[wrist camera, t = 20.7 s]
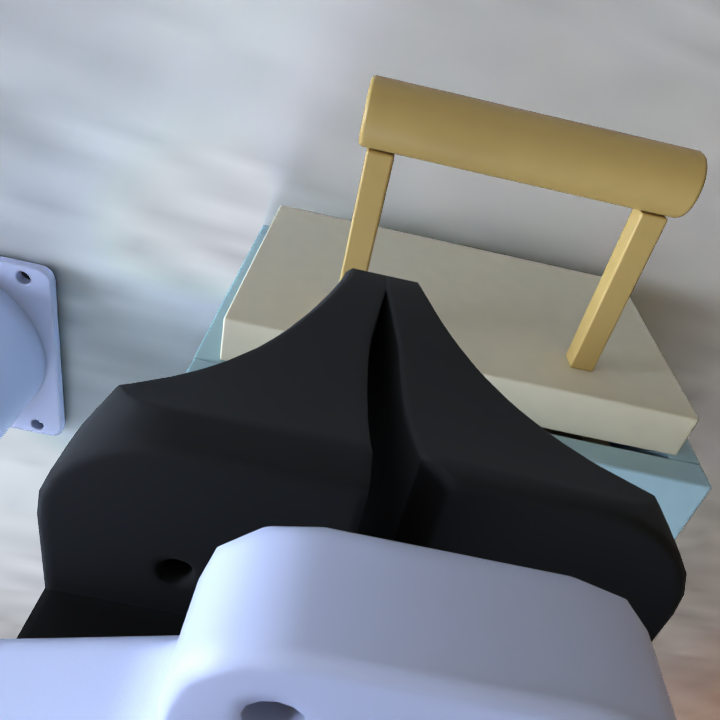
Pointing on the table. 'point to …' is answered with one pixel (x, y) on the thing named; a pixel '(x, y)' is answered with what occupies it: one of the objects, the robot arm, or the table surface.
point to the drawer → (501, 263)
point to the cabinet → (636, 465)
